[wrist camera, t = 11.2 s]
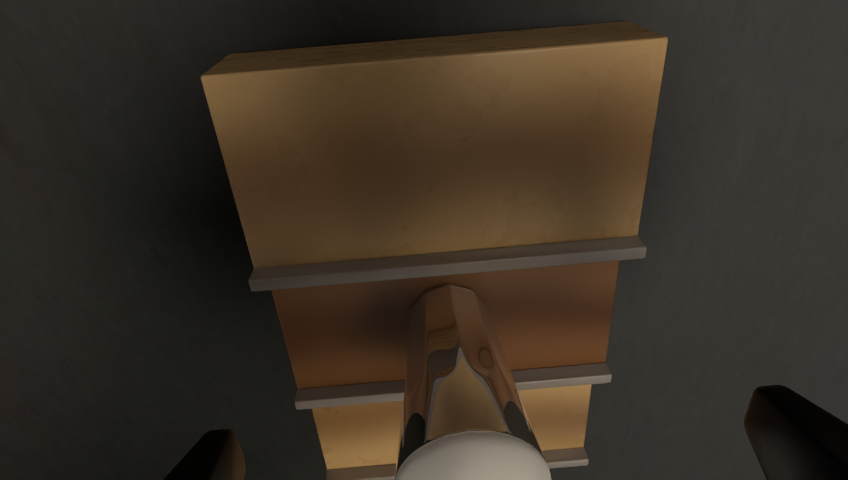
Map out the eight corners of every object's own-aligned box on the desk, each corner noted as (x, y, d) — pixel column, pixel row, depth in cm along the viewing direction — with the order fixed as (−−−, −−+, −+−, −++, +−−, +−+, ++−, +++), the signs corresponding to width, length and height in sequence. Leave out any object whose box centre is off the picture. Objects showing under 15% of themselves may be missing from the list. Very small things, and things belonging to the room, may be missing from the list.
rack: (579, 440, 30) (603, 508, 26) (329, 462, 30) (320, 532, 26) (628, 20, 19) (682, 42, 15) (227, 53, 18) (189, 82, 15)
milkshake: (359, 294, 21) (335, 539, 13) (487, 256, 21) (552, 488, 12) (396, 372, 24) (397, 625, 15) (512, 340, 23) (583, 585, 14)
